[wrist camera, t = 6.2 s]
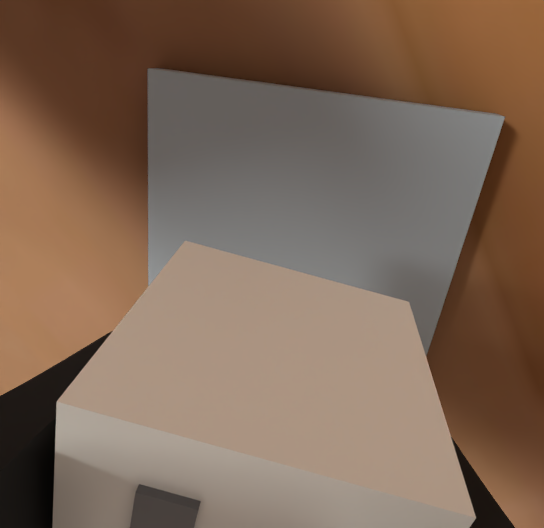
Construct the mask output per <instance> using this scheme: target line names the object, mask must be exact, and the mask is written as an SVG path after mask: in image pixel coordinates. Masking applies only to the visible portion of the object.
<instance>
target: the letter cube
mask: <svg viewBox="0 0 544 528" xmlns="http://www.w3.org/2000/svg"><path fill="white" fill-rule="evenodd" d="M475 519H476V516H475V513H474V509H473V506H472V503H471V500H470V497H469V493H468V490H467V487H466V484H465V480H464V477H463V474H462V471H461V468H460V464H459V461H458V458H457V455H456V451H455V448H454V445H453V442H452V439H451V435H450V432H449V429H448V426H447V423H446V419H445V416H444V413H443V410H442V406H441V403H440V400H439V397H438V394H437V390H436V387H435V384H434V381H433V377H432V374H431V371H430V368H429V365H428V361H427V358H426V355H425V352H424V349H423V345H422V342H421V339H420V336H419V332H418V329H417V326H416V323H415V320H414V316H413V313H412V310H411V307H410V303H409V302H408V301H404V300H401V299H397V298H393V297H390V296H386V295H382V294H379V293H375V292H371V291H368V290H364V289H360V288H357V287H353V286H349V285H346V284H342V283H338V282H335V281H331V280H327V279H324V278H320V277H316V276H313V275H309V274H306V273H302V272H298V271H295V270H291V269H287V268H284V267H280V266H276V265H273V264H269V263H265V262H262V261H258V260H254V259H251V258H247V257H243V256H240V255H236V254H232V253H229V252H225V251H221V250H218V249H214V248H210V247H207V246H203V245H200V244H196V243H192V242H189V241H184V243H183V244H182V245H181V246H180V248H179V249H178V250H177V251H176V253H175V254H174V255H173V256H172V258H171V259H170V260H169V261H168V263H167V264H166V265H165V266H164V268H163V269H162V270H161V271H160V273H159V274H158V275H157V276H156V278H155V279H154V280H153V281H152V283H151V284H150V285H149V286H148V288H147V289H146V290H145V291H144V293H143V294H142V295H141V296H140V298H139V299H138V300H137V301H136V303H135V304H134V305H133V306H132V308H131V309H130V310H129V311H128V313H127V314H126V315H125V317H124V318H123V319H122V320H121V322H120V323H119V324H118V325H117V327H116V328H115V329H114V330H113V332H112V333H111V334H110V335H109V337H108V338H107V339H106V340H105V342H104V343H103V344H102V345H101V347H100V348H99V349H98V350H97V352H96V353H95V354H94V355H93V357H92V358H91V359H90V360H89V362H88V363H87V364H86V365H85V367H84V368H83V369H82V370H81V372H80V373H79V374H78V375H77V377H76V378H75V379H74V380H73V382H72V383H71V384H70V385H69V387H68V388H67V389H66V390H65V392H64V393H63V394H62V395H61V397H60V398H59V399H58V400H57V402H56V433H55V463H54V494H53V524H52V528H470V526H471V525H472V523H473V522H474V520H475Z"/></svg>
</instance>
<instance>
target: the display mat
mask: <svg viewBox="0 0 544 528" xmlns="http://www.w3.org/2000/svg"><path fill="white" fill-rule="evenodd" d="M504 118H505V117H504V116H501V115H499V114H495V113H487V112H480V111H472V110H465V109H458V108H450V107H443V106H435V105H428V104H421V103H413V102H406V101H398V100H391V99H384V98H376V97H369V96H361V95H354V94H346V93H339V92H332V91H324V90H317V89H309V88H302V87H295V86H287V85H280V84H272V83H265V82H258V81H250V80H243V79H235V78H228V77H221V76H213V75H206V74H198V73H191V72H184V71H176V70H169V69H161V68H148V286H149V285H150V284H151V283H152V281H153V280H154V279H155V278H156V276H157V275H158V274H159V273H160V271H161V270H162V269H163V268H164V266H165V265H166V264H167V263H168V261H169V260H170V259H171V258H172V256H173V255H174V254H175V253H176V251H177V250H178V249H179V248H180V246H181V245H182V244H183V243H184V241H189V242H192V243H196V244H200V245H203V246H207V247H210V248H214V249H218V250H221V251H225V252H229V253H232V254H236V255H240V256H243V257H247V258H251V259H254V260H258V261H262V262H265V263H269V264H273V265H276V266H280V267H284V268H287V269H291V270H295V271H298V272H302V273H306V274H309V275H313V276H316V277H320V278H324V279H327V280H331V281H335V282H338V283H342V284H346V285H349V286H353V287H357V288H360V289H364V290H368V291H371V292H375V293H379V294H382V295H386V296H390V297H393V298H397V299H401V300H404V301H408V302H409V303H410V307H411V310H412V313H413V316H414V320H415V323H416V326H417V329H418V332H419V336H420V339H421V342H422V345H423V349H424V352H425V355H426V356H427V353H428V350H429V347H430V344H431V341H432V338H433V335H434V332H435V329H436V326H437V322H438V319H439V316H440V313H441V310H442V307H443V304H444V301H445V298H446V295H447V292H448V289H449V286H450V283H451V280H452V277H453V274H454V271H455V268H456V265H457V262H458V259H459V255H460V252H461V249H462V246H463V243H464V240H465V237H466V234H467V231H468V228H469V225H470V222H471V219H472V216H473V213H474V210H475V207H476V204H477V201H478V198H479V195H480V192H481V188H482V185H483V182H484V179H485V176H486V173H487V170H488V167H489V164H490V161H491V158H492V155H493V152H494V149H495V146H496V143H497V140H498V137H499V134H500V131H501V128H502V125H503V122H504Z"/></svg>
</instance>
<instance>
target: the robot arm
mask: <svg viewBox="0 0 544 528" xmlns="http://www.w3.org/2000/svg"><path fill="white" fill-rule="evenodd" d="M112 332H113V331H111V332H110V333H108V334H106V335H105V336H103V337H101V338H100V339H98V340H96V341H95V342H93V343H91V344H90V345H88V346H86V347H85V348H83V349H81V350H80V351H78V352H76V353H75V354H73V355H71V356H70V357H68V358H66V359H65V360H63V361H61V362H60V363H58V364H56V365H55V366H53V367H51V368H49V369H48V370H46V371H44V372H43V373H41V374H39V375H37V376H36V377H34V378H32V379H30V380H29V381H27V382H25V383H23V384H22V385H20V386H18V387H16V388H14V389H13V390H11V391H9V392H7V393H5V394H3V395H1V396H0V528H52V524H53V494H54V463H55V433H56V402H57V400H58V399H59V398H60V397H61V395H62V394H63V393H64V392H65V390H66V389H67V388H68V387H69V385H70V384H71V383H72V382H73V380H74V379H75V378H76V377H77V375H78V374H79V373H80V372H81V370H82V369H83V368H84V367H85V365H86V364H87V363H88V362H89V360H90V359H91V358H92V357H93V355H94V354H95V353H96V352H97V350H98V349H99V348H100V347H101V345H102V344H103V343H104V342H105V340H106V339H107V338H108V337H109V335H110V334H111V333H112ZM451 439H452V442H453V445H454V448H455V451H456V455H457V458H458V461H459V464H460V468H461V471H462V474H463V477H464V480H465V484H466V487H467V490H468V493H469V497H470V500H471V503H472V506H473V509H474V513H475V516H476V519H475V520H474V522H473V523H472V525H471V526H470V528H515V527H514V526H513V524H512V523H511V521H510V520H509V519H508V517H507V516H506V515H505V513H504V512H503V511H502V509H501V508H500V506H499V505H498V504H497V502H496V501H495V500H494V498H493V497H492V495H491V494H490V492H489V491H488V490H487V488H486V487H485V485H484V484H483V483H482V481H481V480H480V478H479V477H478V475H477V474H476V472H475V471H474V469H473V468H472V467H471V465H470V464H469V462H468V461H467V459H466V458H465V456H464V455H463V453H462V452H461V450H460V449H459V447H458V446H457V444H456V443H455V441H454V440H453V438H452V437H451Z"/></svg>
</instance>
